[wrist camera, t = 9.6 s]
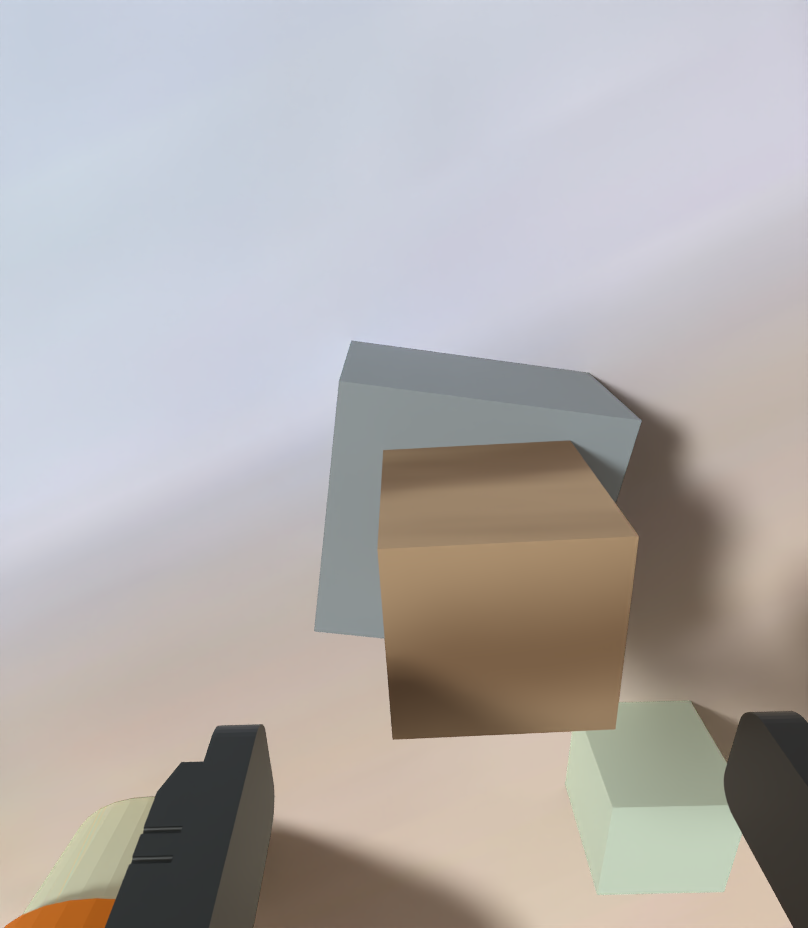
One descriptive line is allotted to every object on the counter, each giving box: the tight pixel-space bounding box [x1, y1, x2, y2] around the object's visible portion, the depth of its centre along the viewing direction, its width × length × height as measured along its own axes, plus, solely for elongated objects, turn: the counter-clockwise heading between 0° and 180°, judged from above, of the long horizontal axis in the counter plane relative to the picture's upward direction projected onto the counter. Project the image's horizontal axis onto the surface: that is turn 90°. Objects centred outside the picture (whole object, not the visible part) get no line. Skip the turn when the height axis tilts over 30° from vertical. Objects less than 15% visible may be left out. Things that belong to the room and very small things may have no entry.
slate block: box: [314, 341, 642, 639], centre depth 19 cm, size 8×8×5 cm
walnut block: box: [377, 440, 639, 740], centre depth 15 cm, size 5×5×5 cm
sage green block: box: [565, 701, 742, 895], centre depth 25 cm, size 5×5×5 cm
